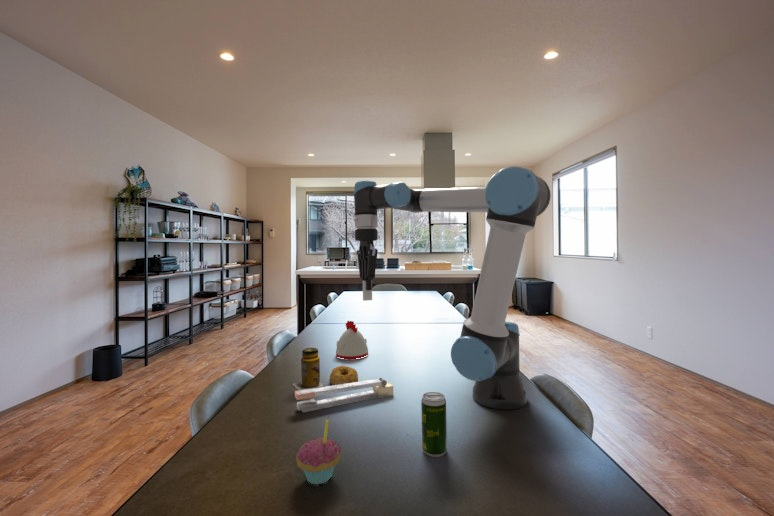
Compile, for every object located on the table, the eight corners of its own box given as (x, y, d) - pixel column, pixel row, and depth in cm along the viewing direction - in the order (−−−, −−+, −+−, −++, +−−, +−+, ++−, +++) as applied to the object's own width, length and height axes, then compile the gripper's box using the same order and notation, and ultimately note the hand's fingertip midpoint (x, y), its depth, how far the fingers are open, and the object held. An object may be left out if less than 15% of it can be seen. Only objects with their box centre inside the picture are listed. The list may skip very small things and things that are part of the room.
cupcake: (343, 464, 73) (342, 406, 73) (339, 492, 64) (337, 426, 64) (301, 466, 72) (300, 407, 72) (291, 493, 64) (290, 427, 64)
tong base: (393, 395, 108) (393, 385, 108) (299, 414, 96) (299, 403, 96) (387, 390, 112) (387, 381, 112) (296, 408, 100) (296, 397, 100)
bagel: (324, 387, 116) (323, 373, 116) (335, 376, 127) (335, 363, 127) (352, 389, 114) (352, 374, 114) (362, 378, 125) (362, 364, 125)
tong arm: (387, 385, 108) (387, 380, 108) (296, 400, 96) (296, 394, 96) (382, 382, 111) (382, 377, 111) (294, 396, 99) (294, 390, 99)
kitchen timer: (356, 349, 163) (355, 317, 163) (374, 355, 152) (373, 321, 152) (330, 355, 154) (329, 321, 154) (347, 362, 144) (346, 325, 143)
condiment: (324, 385, 118) (323, 349, 117) (299, 391, 113) (298, 354, 113) (315, 379, 124) (315, 345, 124) (292, 385, 119) (291, 349, 119)
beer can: (443, 443, 80) (442, 390, 80) (450, 457, 74) (448, 400, 74) (420, 445, 79) (419, 392, 79) (424, 459, 74) (423, 402, 74)
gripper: (349, 230, 121) (350, 298, 121) (362, 226, 109) (364, 303, 109) (369, 230, 124) (370, 297, 124) (384, 227, 112) (386, 301, 112)
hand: (367, 299), depth 117 cm, fingers closed
